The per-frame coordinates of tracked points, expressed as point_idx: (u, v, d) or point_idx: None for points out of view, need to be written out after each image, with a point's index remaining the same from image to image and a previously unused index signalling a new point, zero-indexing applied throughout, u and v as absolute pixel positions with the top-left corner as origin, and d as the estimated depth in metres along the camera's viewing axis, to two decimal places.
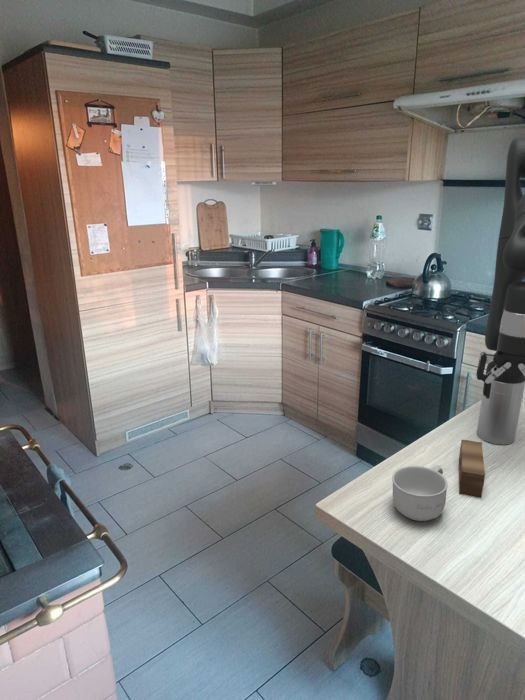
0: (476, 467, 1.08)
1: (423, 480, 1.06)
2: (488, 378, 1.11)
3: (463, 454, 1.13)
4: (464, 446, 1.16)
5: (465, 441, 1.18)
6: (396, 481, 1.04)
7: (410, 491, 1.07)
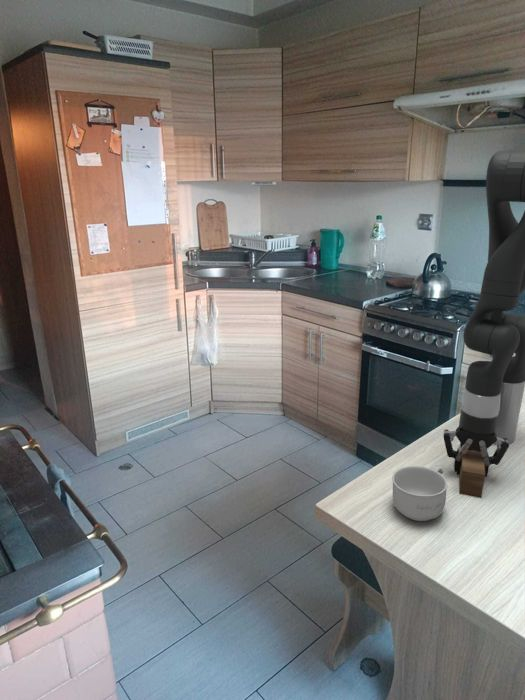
0: (476, 467, 1.08)
1: (423, 480, 1.06)
2: (458, 456, 1.12)
3: None
4: None
5: None
6: (396, 481, 1.04)
7: (410, 491, 1.07)
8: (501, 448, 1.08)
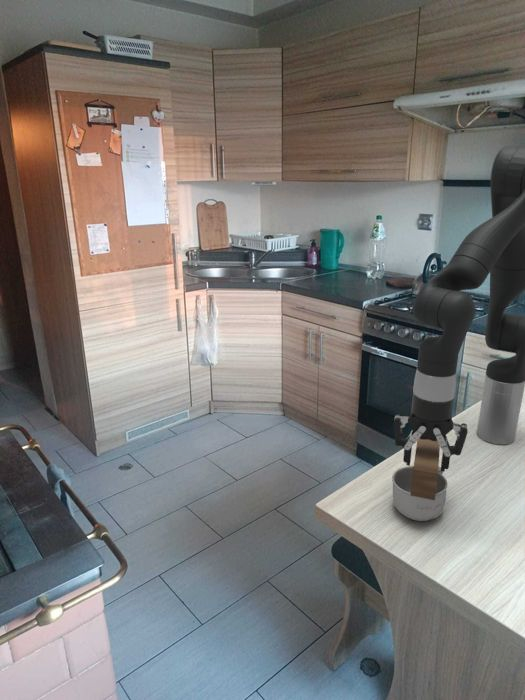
0: (429, 464, 0.95)
1: None
2: (407, 444, 0.99)
3: (417, 450, 1.00)
4: (420, 440, 1.03)
5: None
6: (396, 481, 1.04)
7: (410, 491, 1.07)
8: (460, 435, 0.94)
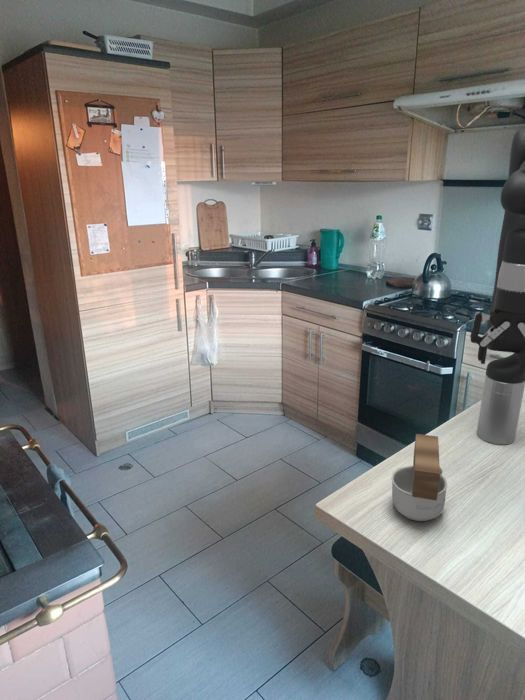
0: (430, 465, 0.95)
1: None
2: (483, 340, 0.98)
3: (417, 450, 1.00)
4: (418, 441, 1.03)
5: (420, 436, 1.05)
6: (396, 481, 1.04)
7: (410, 491, 1.07)
8: None
